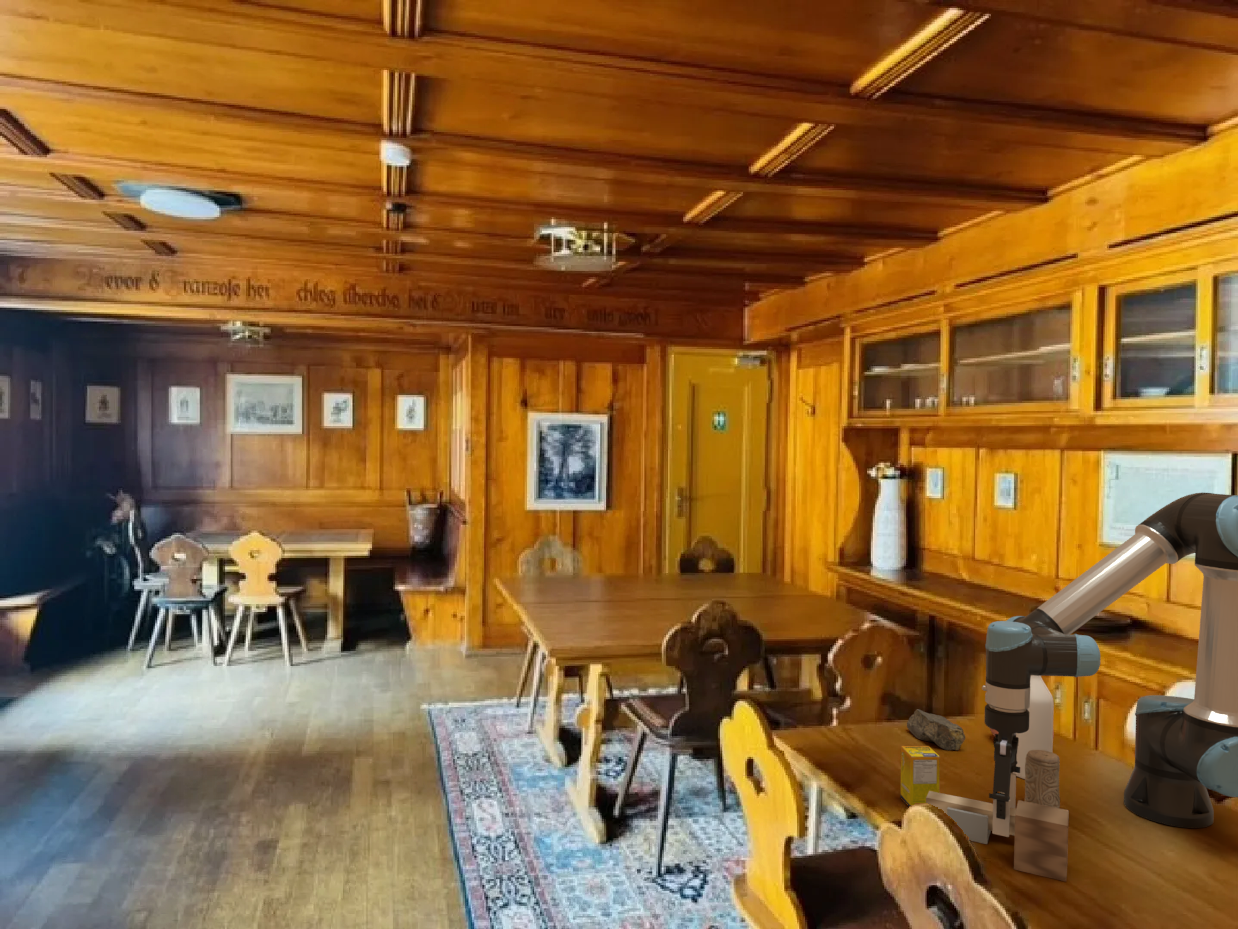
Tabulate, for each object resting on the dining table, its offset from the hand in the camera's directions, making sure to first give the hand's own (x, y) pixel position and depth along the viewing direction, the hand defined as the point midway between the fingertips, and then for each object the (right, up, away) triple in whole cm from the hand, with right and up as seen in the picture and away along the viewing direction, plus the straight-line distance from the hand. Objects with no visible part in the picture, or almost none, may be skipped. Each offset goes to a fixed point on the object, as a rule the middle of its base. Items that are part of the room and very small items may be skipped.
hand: (1004, 820), depth 155 cm
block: (+2, -4, -10) cm, 11 cm away
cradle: (-5, -4, +3) cm, 7 cm away
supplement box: (-10, -4, +16) cm, 19 cm away
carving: (+13, -4, +12) cm, 18 cm away
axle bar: (-5, -2, +3) cm, 6 cm away
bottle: (+21, -3, +32) cm, 38 cm away
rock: (+7, -3, +52) cm, 53 cm away
